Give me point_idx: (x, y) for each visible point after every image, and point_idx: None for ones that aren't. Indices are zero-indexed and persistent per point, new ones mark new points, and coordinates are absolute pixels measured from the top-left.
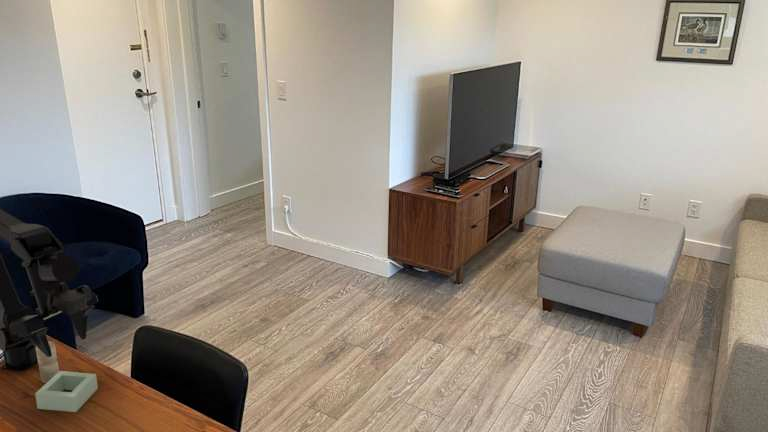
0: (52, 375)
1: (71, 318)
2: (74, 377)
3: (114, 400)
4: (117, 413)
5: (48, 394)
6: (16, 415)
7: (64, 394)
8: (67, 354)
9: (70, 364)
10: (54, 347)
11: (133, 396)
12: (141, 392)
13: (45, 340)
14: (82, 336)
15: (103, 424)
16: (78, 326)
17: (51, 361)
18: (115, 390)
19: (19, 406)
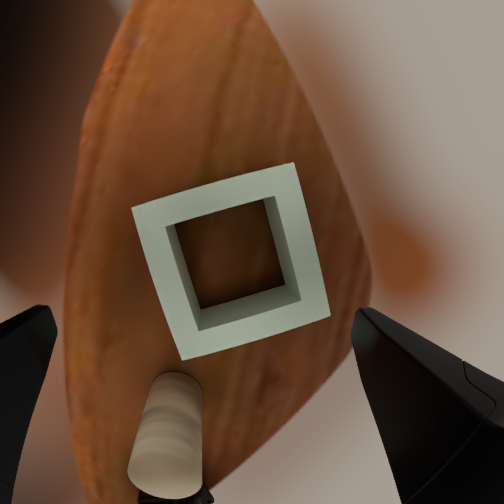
0: (182, 385)
1: (9, 493)
2: (181, 278)
3: (176, 110)
4: (227, 59)
5: (318, 267)
6: (347, 326)
7: (295, 209)
8: (79, 430)
9: (99, 394)
10: (141, 449)
11: (139, 76)
12: (114, 72)
13: (468, 385)
14: (42, 328)
15: (284, 62)
16: (7, 402)
17: (174, 415)
18: (130, 149)
19: (315, 355)
